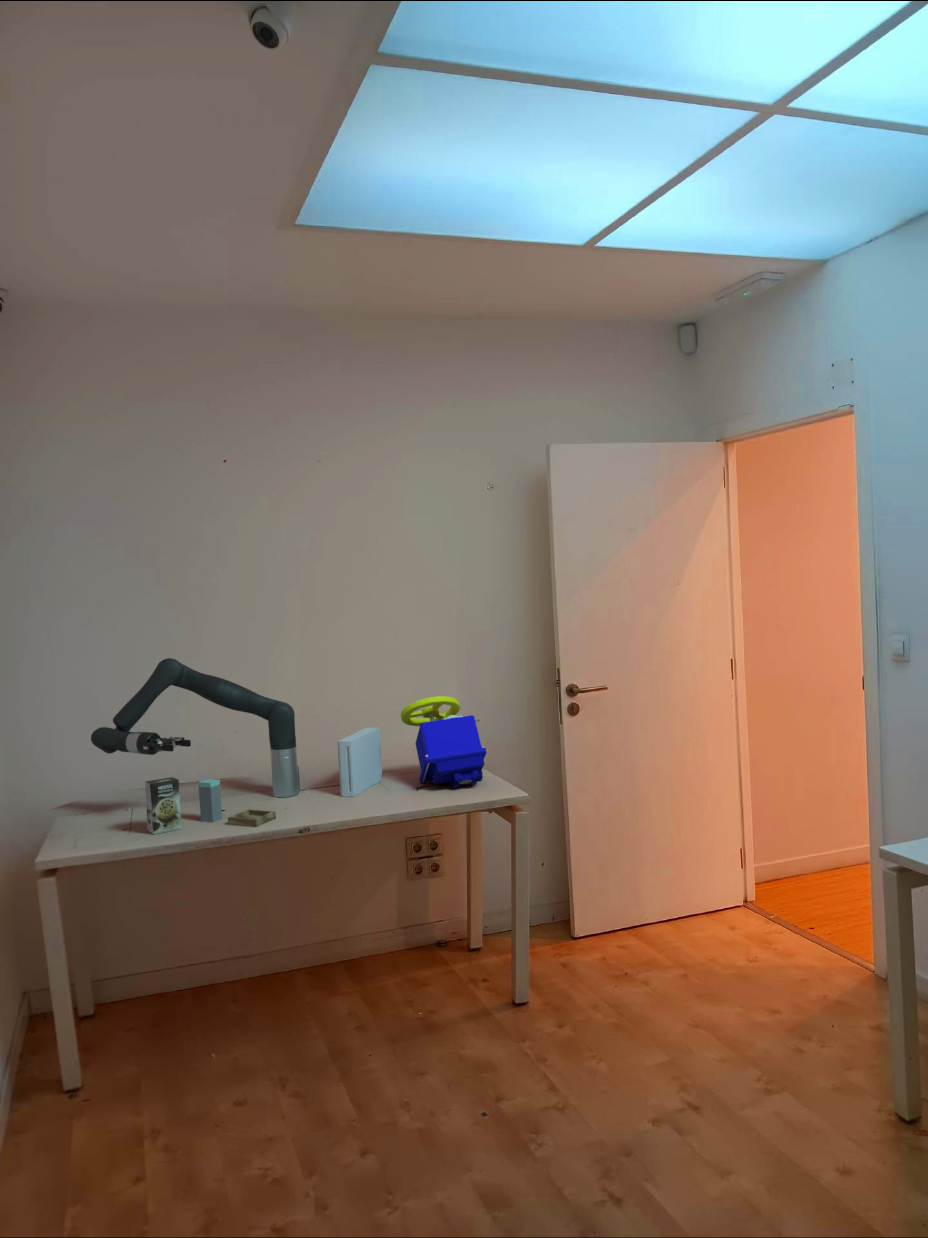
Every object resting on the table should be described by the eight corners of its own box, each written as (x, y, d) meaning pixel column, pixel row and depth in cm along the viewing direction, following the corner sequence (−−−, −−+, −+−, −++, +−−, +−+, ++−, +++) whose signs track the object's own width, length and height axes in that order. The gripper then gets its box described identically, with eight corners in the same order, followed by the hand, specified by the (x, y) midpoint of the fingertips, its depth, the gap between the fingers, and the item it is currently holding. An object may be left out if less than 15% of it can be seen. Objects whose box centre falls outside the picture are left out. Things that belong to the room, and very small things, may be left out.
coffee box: (153, 835, 294) (150, 784, 293) (147, 831, 299) (143, 781, 298) (182, 829, 299) (179, 779, 298) (175, 825, 304) (172, 776, 304)
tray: (248, 816, 311) (248, 809, 311) (275, 818, 307) (275, 811, 307) (228, 824, 302) (227, 817, 302) (255, 827, 297) (255, 820, 297)
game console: (338, 796, 333) (335, 741, 332) (368, 779, 359) (365, 727, 358) (353, 797, 331) (350, 741, 330) (382, 779, 357) (379, 727, 356)
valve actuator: (493, 767, 328) (474, 690, 341) (418, 780, 322) (402, 700, 335) (482, 791, 350) (464, 717, 363) (412, 803, 344) (397, 727, 358)
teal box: (209, 817, 312) (207, 779, 311) (222, 818, 310) (219, 779, 309) (200, 821, 308) (198, 782, 307) (212, 822, 306) (210, 783, 305)
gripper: (127, 735, 311) (166, 738, 305) (157, 728, 324) (195, 730, 318) (128, 758, 312) (167, 761, 305) (158, 750, 325) (196, 752, 318)
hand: (181, 745), depth 312 cm, fingers open, 8 cm apart
